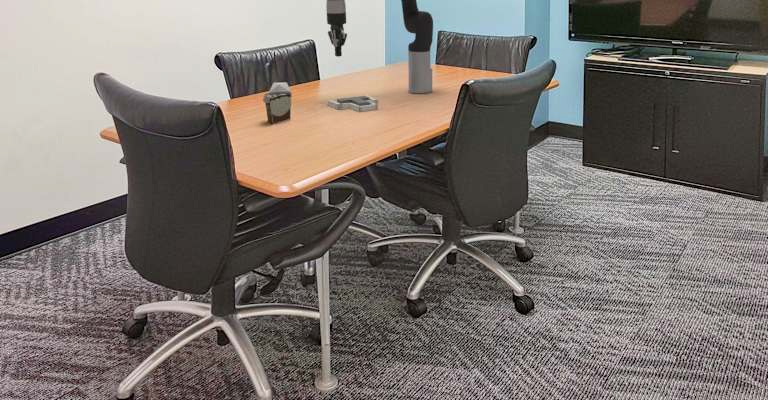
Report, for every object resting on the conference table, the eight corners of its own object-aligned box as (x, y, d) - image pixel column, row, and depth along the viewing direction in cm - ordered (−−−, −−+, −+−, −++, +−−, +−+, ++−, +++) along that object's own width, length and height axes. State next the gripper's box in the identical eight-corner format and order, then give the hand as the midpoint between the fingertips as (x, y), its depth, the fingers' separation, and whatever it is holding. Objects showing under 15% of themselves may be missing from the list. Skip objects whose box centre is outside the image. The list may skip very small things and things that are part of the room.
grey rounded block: (282, 107, 298) (295, 86, 299) (262, 96, 299) (275, 74, 299) (285, 111, 307) (297, 89, 307) (265, 100, 307) (278, 78, 307)
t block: (364, 103, 301) (364, 95, 300) (378, 108, 291) (378, 100, 290) (337, 106, 296) (336, 99, 295) (350, 112, 286) (350, 104, 285)
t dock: (365, 100, 306) (365, 95, 305) (387, 108, 291) (387, 102, 290) (327, 105, 298) (327, 100, 297) (348, 113, 283) (348, 108, 283)
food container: (280, 116, 280) (278, 89, 277) (293, 118, 277) (291, 91, 274) (257, 123, 271) (255, 95, 267) (270, 125, 267) (268, 97, 264)
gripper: (352, 12, 292) (354, 57, 298) (337, 9, 303) (339, 53, 309) (334, 13, 288) (337, 59, 294) (320, 11, 299) (322, 55, 305)
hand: (338, 56), depth 301 cm, fingers closed
